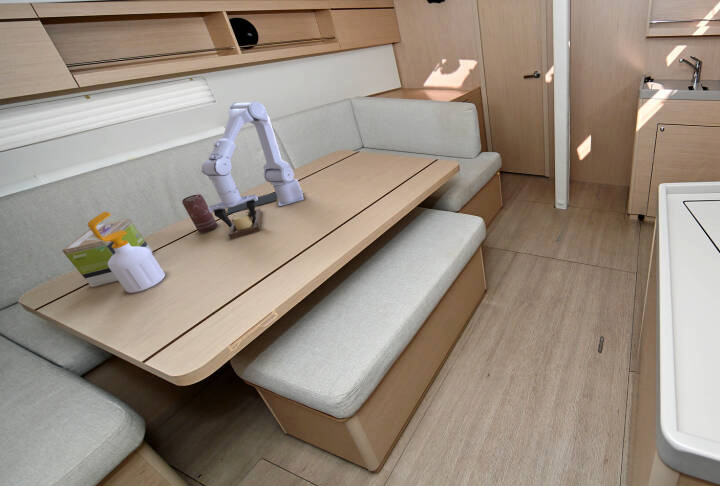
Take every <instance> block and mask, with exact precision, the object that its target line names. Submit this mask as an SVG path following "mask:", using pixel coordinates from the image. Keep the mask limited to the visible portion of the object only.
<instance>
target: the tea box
mask: <svg viewBox="0 0 720 486" xmlns="http://www.w3.org/2000/svg"><path fill="white" fill-rule="evenodd" d="M96 228H97V230H98V232H99V233H100V235H101V236H102V237H105V236H108V235H110V234H112V233H115V232H117V231H120V230H123V231H125V232H127V234H125V235H123V238H121V239H122V241H124V240H127V241H128V243H129V244H130V245H131V246H132V247H135V246H139V247H146V248H148V249H149V250H150V252H151V253H152V254H153V253H154V251H153V249H152V248H151V246H150V245H149V244H148V243H147V241H146V240H145V238H144V237H143V235H142V234H141V232H140V231H139V229H138V228H137V226H136V225H135V224H134V223H133V221H132V220H131V218H129V217H128V218H125V219H120V220H116V221H112V222H106V223H102V224H97V225H96ZM114 244H115V243H114V242H110V241H108V242H105V241H102V240H100V239H98V238H96V236H95V235H94V234H93V232H92V231H91V229H90V228H89V229H88V230H86V231H85V232H84V233H82V234H80V235H79V236H78V237H77V238H76V239H74V241H72V242H71V243H69V244H68V245H67V246H66V247H64V248H62V250H61V252H63V255H64V256H66V258H67V259H68V260H69V261H70V262H71V264H72V265H73V267H75V269H76V270H77V271H78V273H79V274H80V275H81V276H82V278H84V280H85V281H86V282H87V284H88V285H89V286H90V287H91V288H94V287H98V286H103V285H107V284H110V283H114V282H119V281H118V279H117V278H116V277H115V275H114V274H113V272H112V271H111V270H110V268H109V267H108V261H109V260H110V258H111V257H112V256H113V255H114V254H115V253H116V252H115V250H114V249H113V247H112V245H114Z"/></svg>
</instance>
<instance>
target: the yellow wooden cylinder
mask: <svg viewBox="0 0 720 486" xmlns="http://www.w3.org/2000/svg"><path fill="white" fill-rule="evenodd" d="M234 215H235V216H234ZM234 215H232V217H231V222H232V221H233V223H234V225H235V227H236V231H239V230H242V229H246V228H249V227H252V226H254V225H255V224H253V223H252V221H251V217H250V216H249V214H248V213H245V212H241V213H238V214H234Z"/></svg>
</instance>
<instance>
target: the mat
mask: <svg viewBox="0 0 720 486" xmlns="http://www.w3.org/2000/svg"><path fill="white" fill-rule="evenodd" d="M257 198H258V200H257V201H255V208H256V207H260V206H263V205H266V204H271V203H274V202H277V199H278V197H277V195H276V192H275V191H274V192H271V193H267V194H263V195H260V196H257ZM246 205H247V203H244V204H240V205H236V206H233V207H229V208H227V211H226V213H227V215H230V214H233V213H237V212H241V211H244V210H249V209H248V208H247V206H246Z"/></svg>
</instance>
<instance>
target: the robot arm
mask: <svg viewBox="0 0 720 486" xmlns="http://www.w3.org/2000/svg"><path fill="white" fill-rule="evenodd" d="M227 113H228V119H227V122H226V126H225V129H224V132H223V135H222V138H220V139H218V140H216V141H215V142H214V143H213V148H212V150H211V153H210V155H208V159H207V160H205V161H203V163H202V164H201V172H202V173H203V175H205V176H207V177H208V178H209V180H210V181H211V183H212V185H213V187H214V188H215V190H216V193H217V194H218V197H219V198H220V201H221V202H218V203H216V204H213V205H209V206H208V210H209V212H210V213H212V214H213V216H215V217H216V218H218V219H220V220H221V221H222V222H224V223H225V224H226V226H228V228H230V227H231V226H232V223H231V222H232V220H231V219H230V218H229V215H228V214H227V211H226V209H228V208H229V207H233V206H236V205H240V204H244V203H247V205H246V206H247V208H248V209H247V210H248V211H250V213H251V218H253V220H256V215H255V210H256V209H255V208H256V207H255V201H257V200H258V198H257V197H258V195H257V194H249V195H244V196H241V194H240V191H239V189H238V187H237V184H236V183H235V180H234V178H233V176H232V174H231V172H232V169H233V166H232V158H233V156H234V153H235V150H236V148H237V145H236V143H235V141H236V139H237V137H238V135H239V134H240V132H241V129H242V127H243V125H245V124H248V123H249V124H251V125H254V126H255V131H256V132H257V136H258V139H259V142H260V146H261V148H262V152H263V155H264V159H265V161H266V163H265V164H264V165H263V178H264V179H265V181H266V182H268V183H269V184H270V185H271V186H272V187H273V189H274V193H275V192H276V195H277V199H278V207H283V206H287V205H291V204H294V203H297V202H301V201H304V192H303V189H302V188H301V185H300V182H299V180H298V179H297V178H294V177H295V173H294V170H293V169H292V168H291V165H290V163H288V162H287V161H286V160H283V158H282V154H281V152H280V148H279V145H278V141H277V138H276V135H275V131H274V128H273V125H272V121H271V118H270V116H269V114H268V112H267V110H266V106H265V105H264V104H262V103H260V102H259V101H247V102H238V101H237V102H233V103H231V105H230V106H229V110H227Z"/></svg>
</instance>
